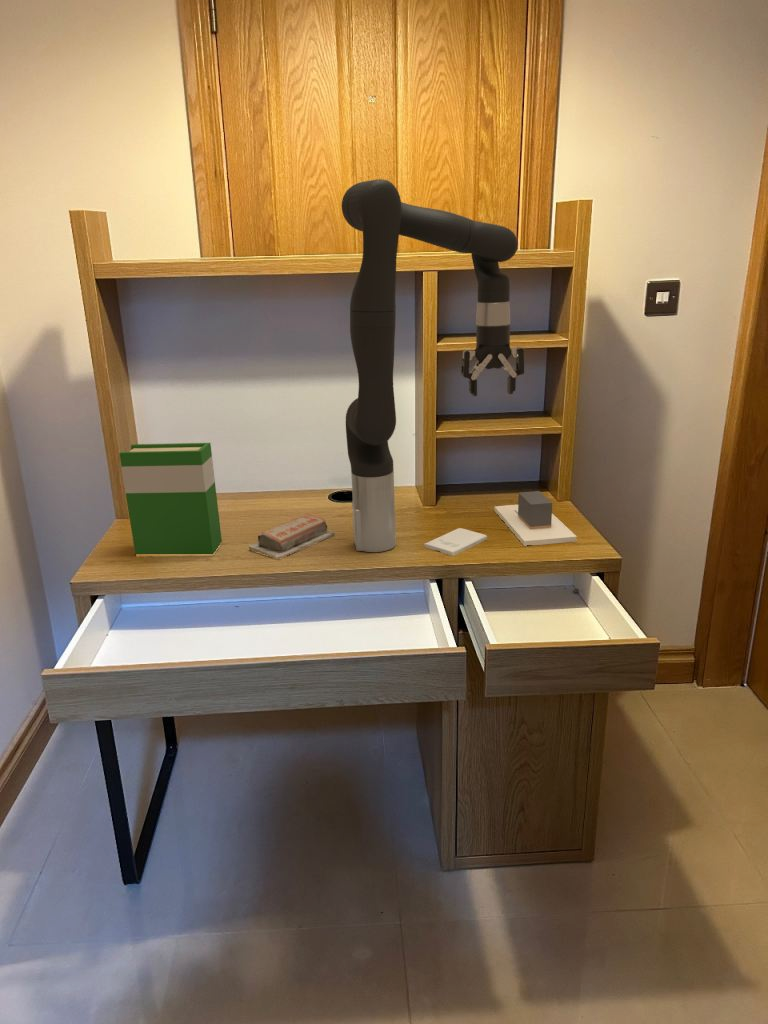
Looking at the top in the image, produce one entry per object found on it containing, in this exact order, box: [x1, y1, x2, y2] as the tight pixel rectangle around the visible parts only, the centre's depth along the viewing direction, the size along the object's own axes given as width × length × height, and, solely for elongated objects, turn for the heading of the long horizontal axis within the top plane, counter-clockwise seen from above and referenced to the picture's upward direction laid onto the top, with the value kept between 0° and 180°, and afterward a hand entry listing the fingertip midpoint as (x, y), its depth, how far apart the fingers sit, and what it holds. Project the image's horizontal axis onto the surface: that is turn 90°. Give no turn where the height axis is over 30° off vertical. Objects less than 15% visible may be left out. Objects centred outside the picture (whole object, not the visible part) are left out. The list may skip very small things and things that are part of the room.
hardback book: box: [119, 442, 223, 555], centre depth 167 cm, size 18×7×24 cm, turn 87°
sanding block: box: [517, 490, 553, 529], centre depth 175 cm, size 9×5×6 cm, turn 8°
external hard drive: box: [423, 527, 488, 557], centre depth 168 cm, size 2×8×12 cm
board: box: [493, 504, 578, 547], centre depth 177 cm, size 12×24×1 cm, turn 8°
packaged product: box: [248, 514, 335, 560], centre depth 172 cm, size 18×5×10 cm
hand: (492, 394), depth 174 cm, fingers open, 8 cm apart
